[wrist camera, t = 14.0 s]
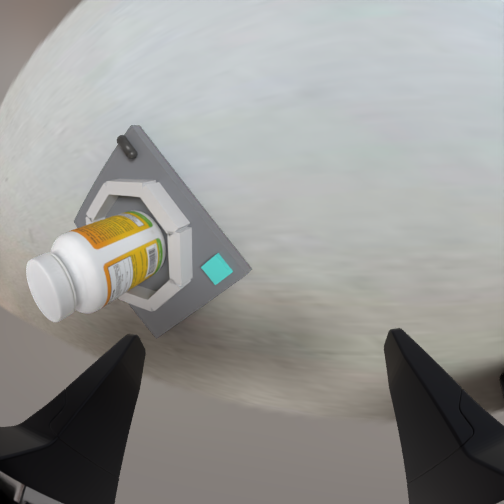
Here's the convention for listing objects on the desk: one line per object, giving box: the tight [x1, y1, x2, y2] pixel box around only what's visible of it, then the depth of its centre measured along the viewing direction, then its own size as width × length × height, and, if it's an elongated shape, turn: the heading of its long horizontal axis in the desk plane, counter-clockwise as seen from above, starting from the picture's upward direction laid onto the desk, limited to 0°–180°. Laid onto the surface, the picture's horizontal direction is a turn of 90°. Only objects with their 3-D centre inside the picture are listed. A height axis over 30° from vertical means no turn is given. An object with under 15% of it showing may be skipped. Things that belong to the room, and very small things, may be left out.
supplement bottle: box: [26, 211, 166, 322], centre depth 17 cm, size 5×5×10 cm
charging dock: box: [74, 125, 252, 339], centre depth 22 cm, size 14×12×2 cm
